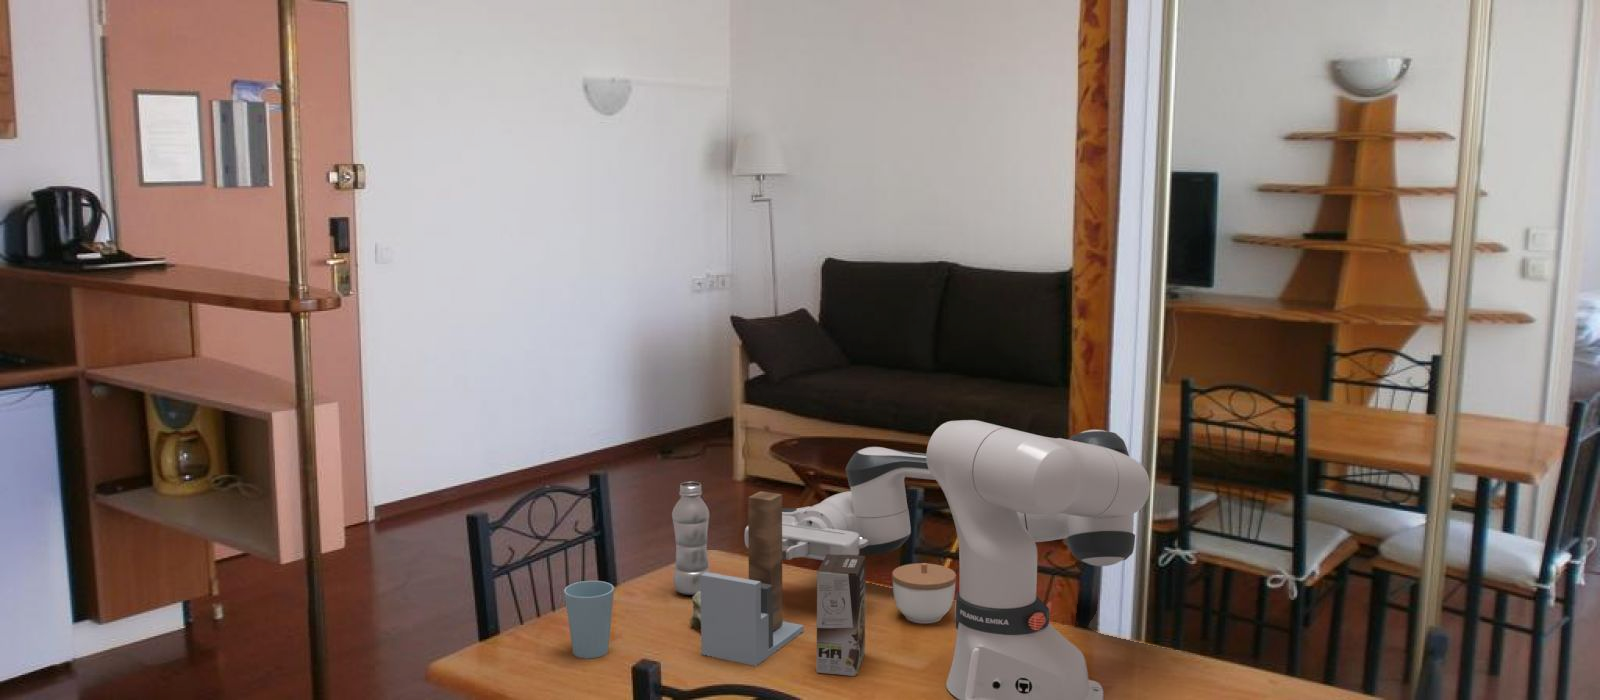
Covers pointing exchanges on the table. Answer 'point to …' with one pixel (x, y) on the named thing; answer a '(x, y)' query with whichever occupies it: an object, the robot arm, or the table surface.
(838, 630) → the coffee box
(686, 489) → the plastic bottle
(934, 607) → the lidded jar
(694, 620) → the rock
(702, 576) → the blue-grey stand
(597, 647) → the cup
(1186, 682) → the table surface
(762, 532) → the peg
